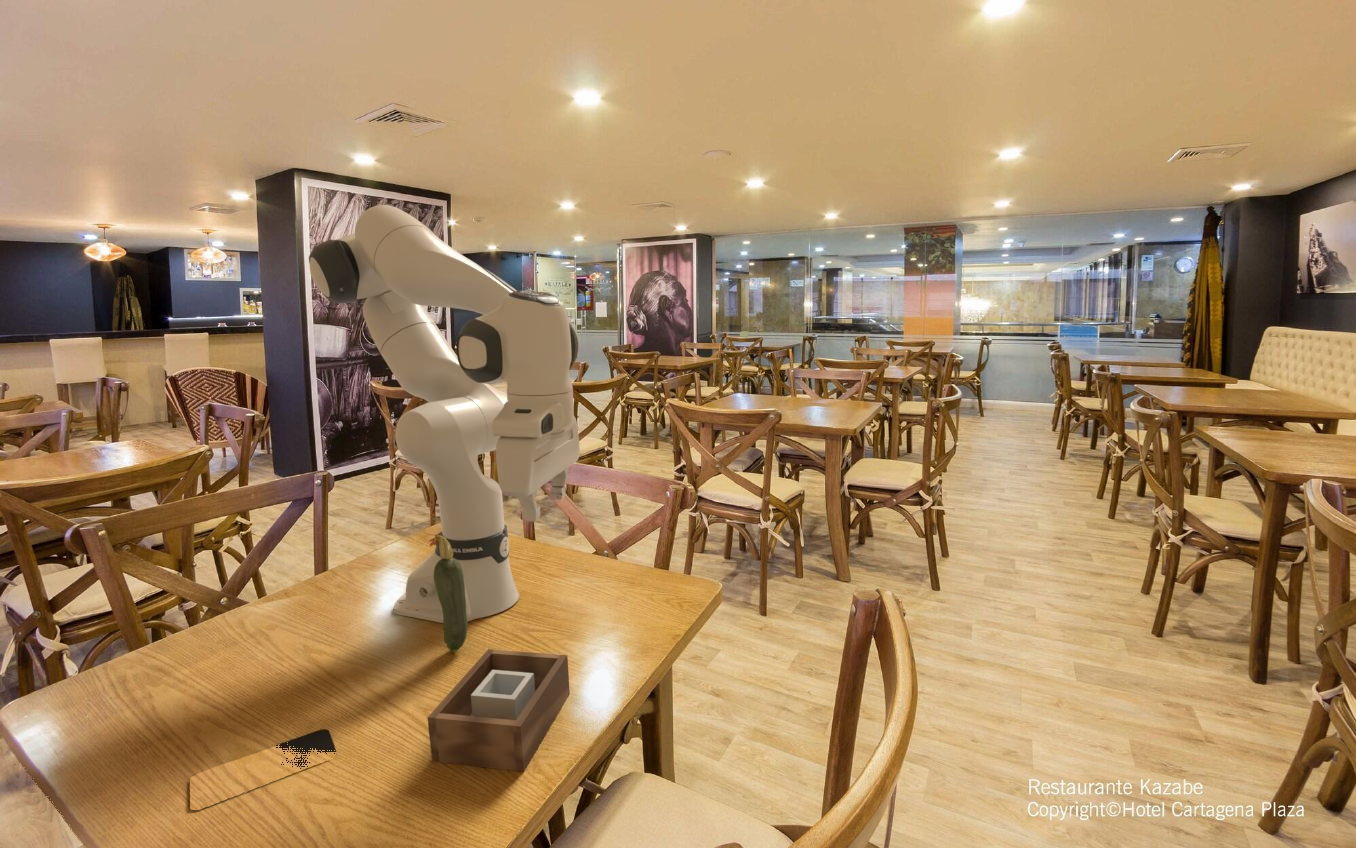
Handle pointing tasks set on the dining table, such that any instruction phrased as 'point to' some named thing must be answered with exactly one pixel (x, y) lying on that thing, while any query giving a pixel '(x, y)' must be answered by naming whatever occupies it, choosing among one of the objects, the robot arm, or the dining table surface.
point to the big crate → (499, 739)
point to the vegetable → (451, 595)
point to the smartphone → (310, 744)
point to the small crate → (503, 694)
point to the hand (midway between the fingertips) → (545, 508)
